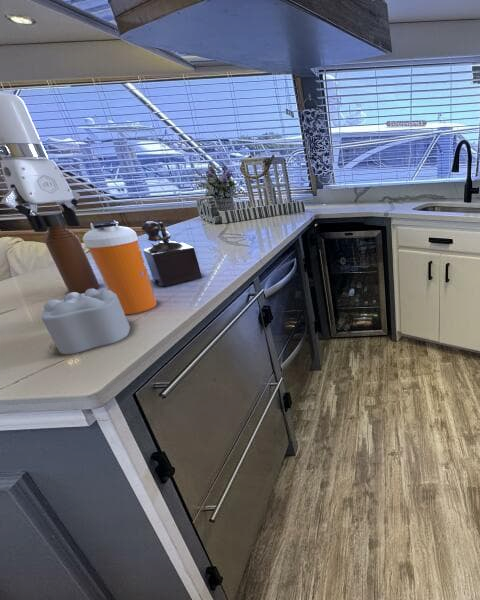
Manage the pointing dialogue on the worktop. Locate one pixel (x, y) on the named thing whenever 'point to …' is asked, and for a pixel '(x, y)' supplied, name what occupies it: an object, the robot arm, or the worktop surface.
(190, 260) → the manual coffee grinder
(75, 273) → the bottle
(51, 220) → the cap
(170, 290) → the worktop surface
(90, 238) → the shaker bottle
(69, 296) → the lumpy-topped squat cylinder
